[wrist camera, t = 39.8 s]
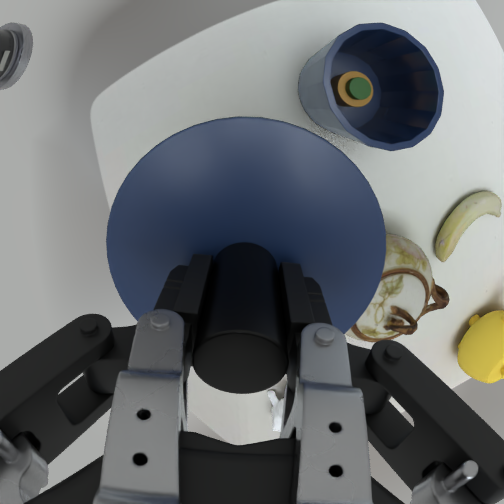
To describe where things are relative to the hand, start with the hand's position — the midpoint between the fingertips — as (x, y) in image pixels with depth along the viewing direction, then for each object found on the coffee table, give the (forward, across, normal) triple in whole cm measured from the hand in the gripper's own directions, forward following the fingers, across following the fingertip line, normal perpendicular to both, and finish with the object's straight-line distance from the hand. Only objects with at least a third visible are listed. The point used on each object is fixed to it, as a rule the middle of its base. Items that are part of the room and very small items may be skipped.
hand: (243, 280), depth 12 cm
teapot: (+27, -51, +24) cm, 62 cm away
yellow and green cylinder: (+26, -10, -10) cm, 30 cm away
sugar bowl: (+27, -18, +13) cm, 35 cm away
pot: (+27, -10, -10) cm, 30 cm away
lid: (+1, 0, 0) cm, 1 cm away
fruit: (+27, -34, +4) cm, 43 cm away
